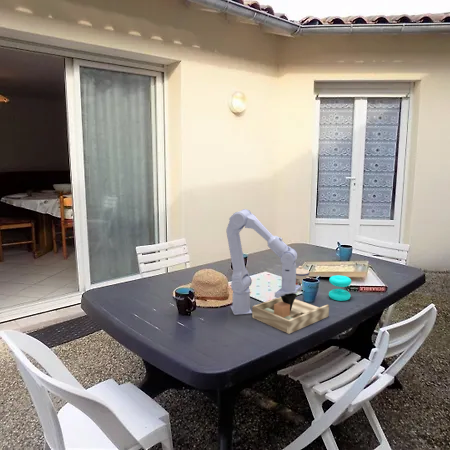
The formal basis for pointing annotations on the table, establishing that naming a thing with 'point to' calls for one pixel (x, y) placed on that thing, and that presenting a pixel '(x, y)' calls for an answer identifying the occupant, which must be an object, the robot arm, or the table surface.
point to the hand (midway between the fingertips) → (288, 310)
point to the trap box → (297, 319)
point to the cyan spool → (339, 293)
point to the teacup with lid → (301, 275)
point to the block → (282, 309)
